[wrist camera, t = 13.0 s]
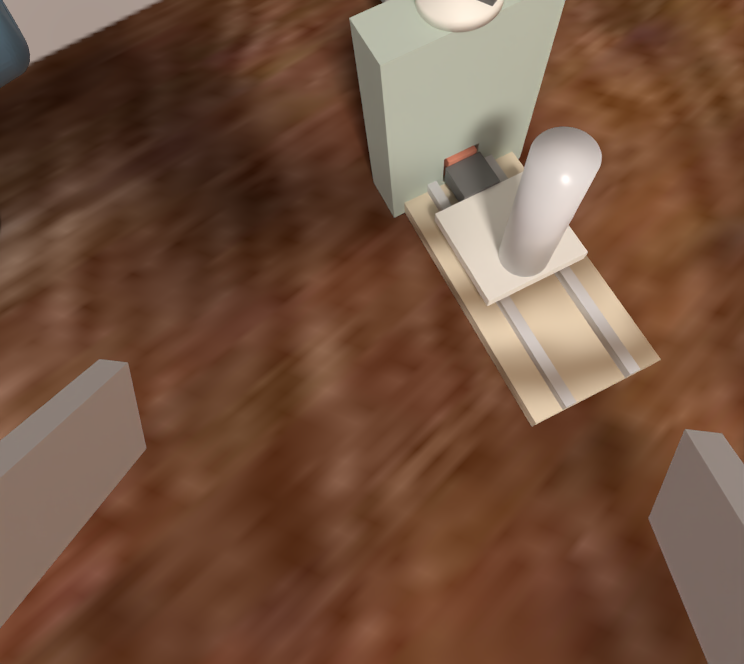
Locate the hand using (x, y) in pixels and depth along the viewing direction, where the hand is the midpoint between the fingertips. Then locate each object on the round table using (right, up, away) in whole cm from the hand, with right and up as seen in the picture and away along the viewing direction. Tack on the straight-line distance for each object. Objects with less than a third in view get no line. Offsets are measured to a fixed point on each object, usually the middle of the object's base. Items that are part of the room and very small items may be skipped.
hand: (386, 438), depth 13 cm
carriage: (+9, +11, +27) cm, 30 cm away
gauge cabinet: (+6, +16, +32) cm, 36 cm away
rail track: (+11, +6, +28) cm, 31 cm away
